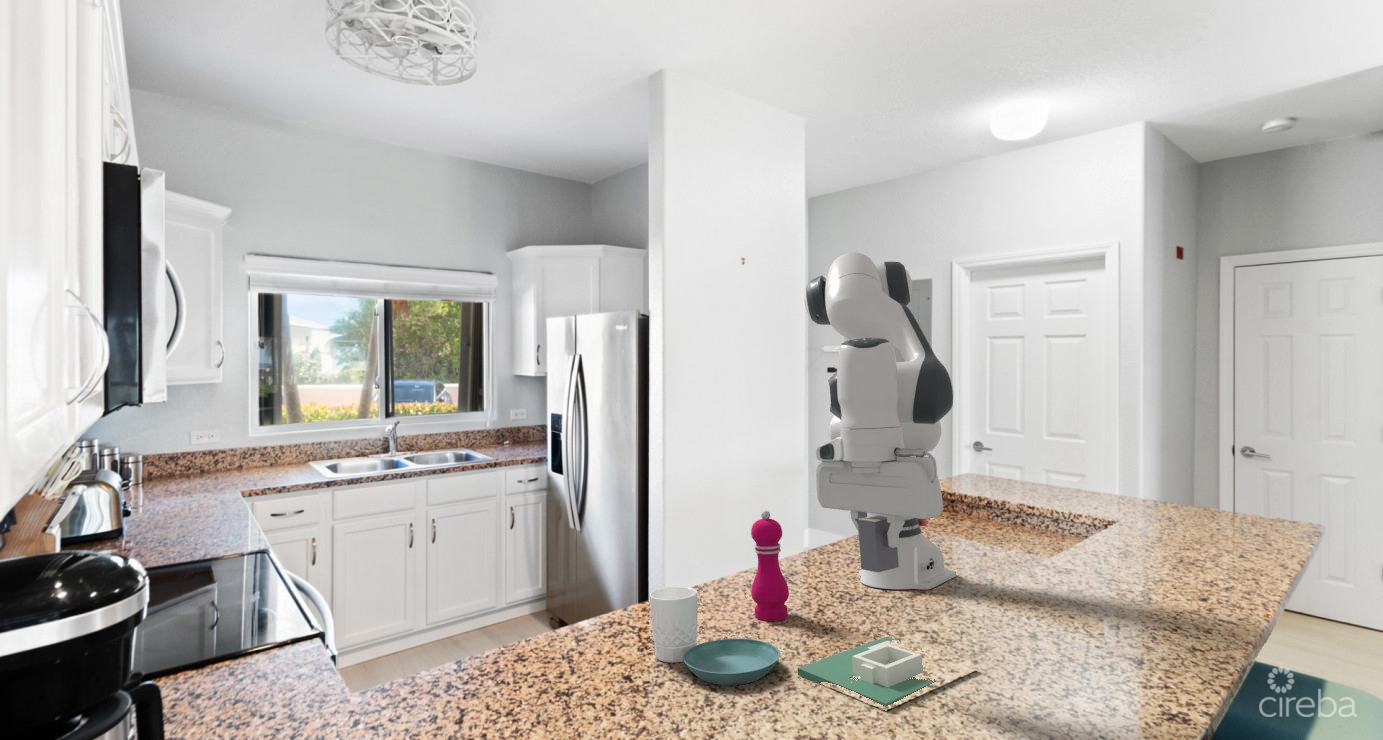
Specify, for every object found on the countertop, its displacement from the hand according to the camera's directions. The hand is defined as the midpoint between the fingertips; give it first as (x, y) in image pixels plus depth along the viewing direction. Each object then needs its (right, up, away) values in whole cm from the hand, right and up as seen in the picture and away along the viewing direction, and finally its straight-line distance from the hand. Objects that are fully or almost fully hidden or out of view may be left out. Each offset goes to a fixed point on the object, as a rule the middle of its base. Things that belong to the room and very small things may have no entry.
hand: (878, 544), depth 94 cm
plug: (0, -3, 0) cm, 3 cm away
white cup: (-29, -22, +13) cm, 39 cm away
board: (+1, -19, +1) cm, 19 cm away
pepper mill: (-12, -22, +31) cm, 40 cm away
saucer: (-21, -21, +5) cm, 30 cm away
